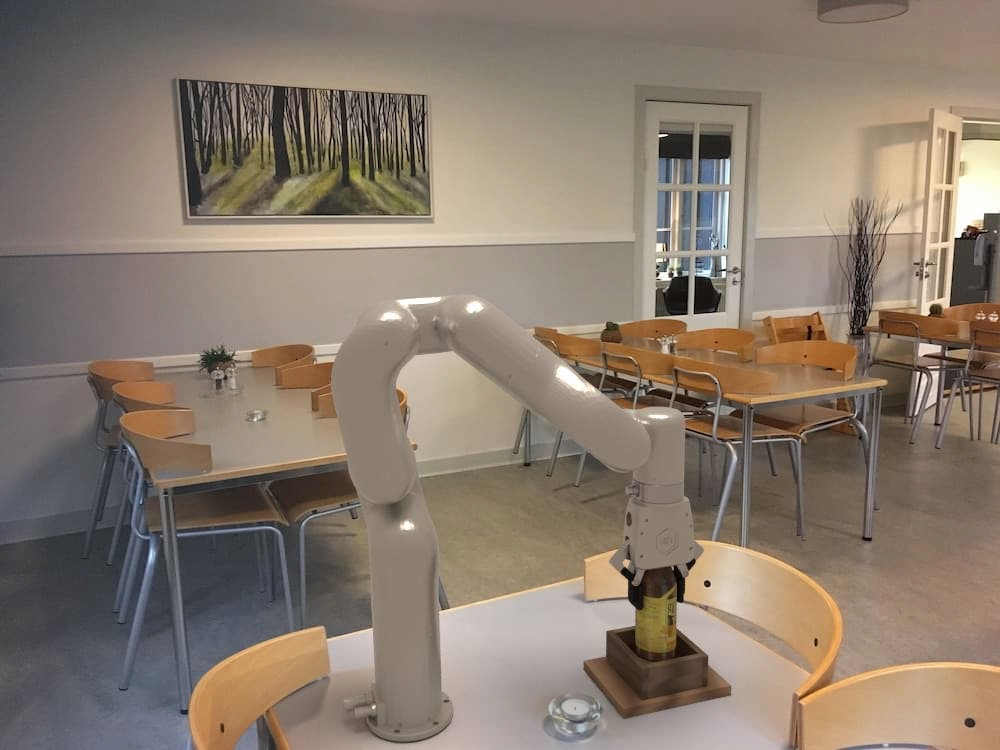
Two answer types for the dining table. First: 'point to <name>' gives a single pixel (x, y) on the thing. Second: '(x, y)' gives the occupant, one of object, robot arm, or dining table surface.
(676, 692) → the condiment caddy
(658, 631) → the sauce bottle
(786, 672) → the dining table surface
